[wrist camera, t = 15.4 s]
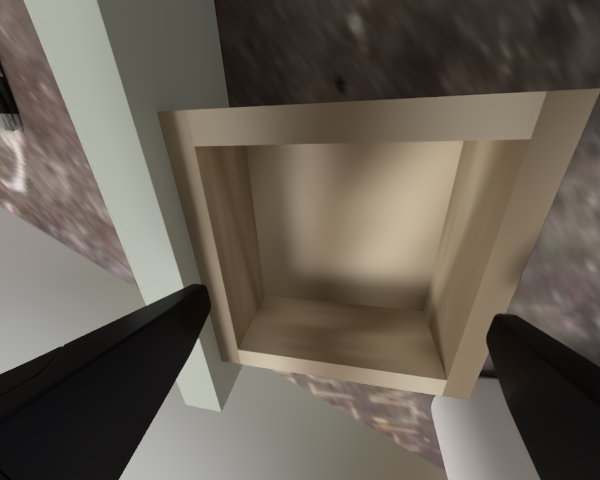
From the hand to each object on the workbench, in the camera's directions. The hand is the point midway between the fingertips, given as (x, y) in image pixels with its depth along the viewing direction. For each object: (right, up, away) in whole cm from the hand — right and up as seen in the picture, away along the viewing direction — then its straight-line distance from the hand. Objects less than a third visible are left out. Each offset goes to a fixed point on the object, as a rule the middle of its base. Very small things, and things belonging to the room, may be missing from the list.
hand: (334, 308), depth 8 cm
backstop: (-5, +4, +7) cm, 9 cm away
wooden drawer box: (+1, +3, +6) cm, 6 cm away
